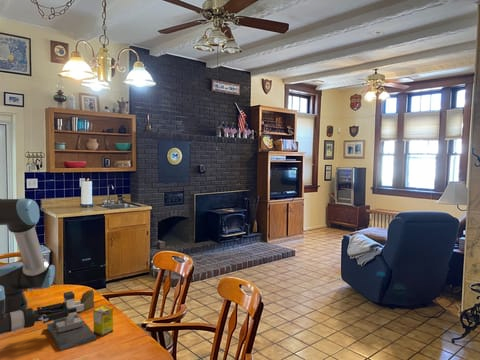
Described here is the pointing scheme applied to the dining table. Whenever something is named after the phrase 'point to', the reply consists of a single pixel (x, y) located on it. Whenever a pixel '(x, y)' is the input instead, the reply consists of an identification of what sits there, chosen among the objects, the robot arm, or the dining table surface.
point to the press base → (71, 334)
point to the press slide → (69, 315)
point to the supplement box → (103, 320)
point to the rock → (87, 300)
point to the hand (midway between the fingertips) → (81, 305)
